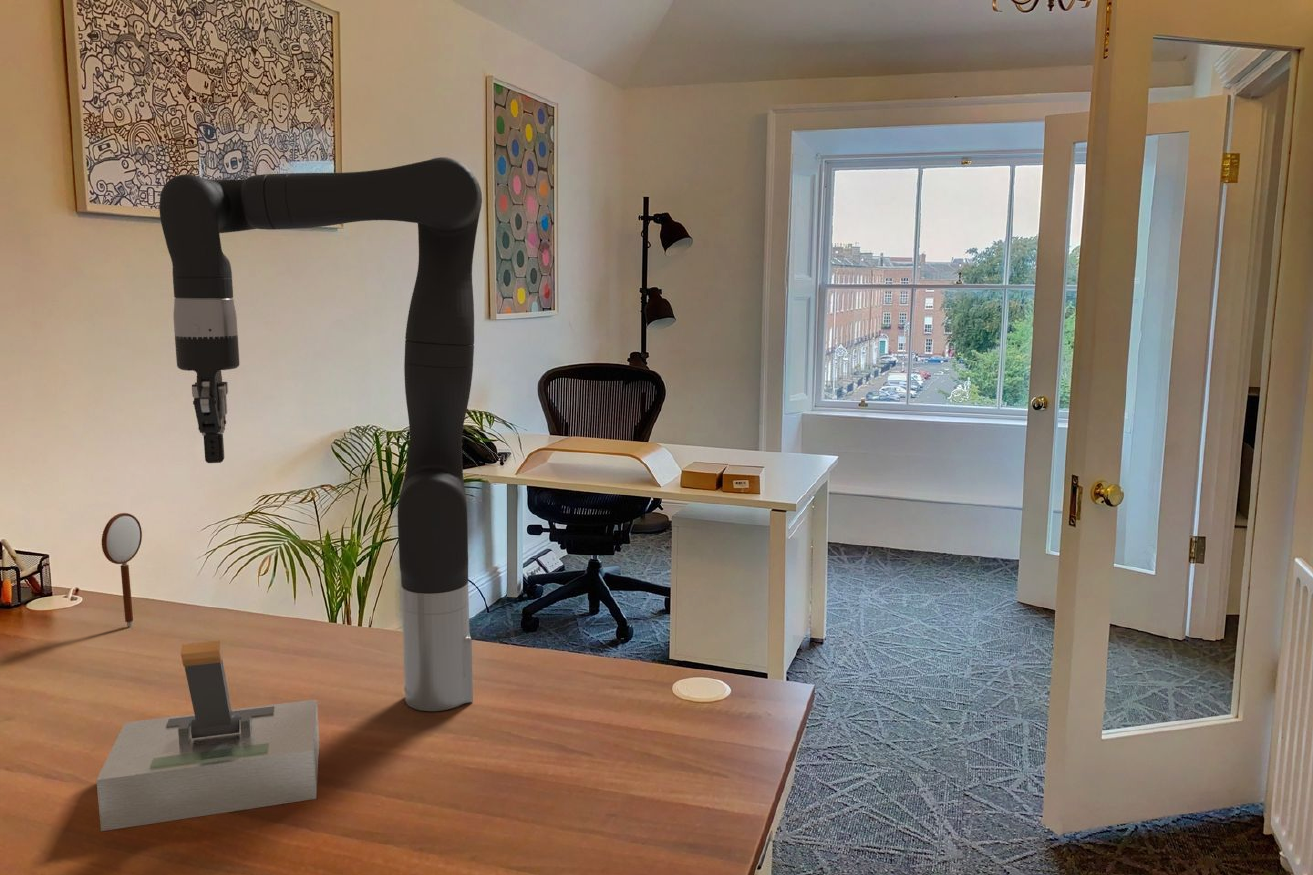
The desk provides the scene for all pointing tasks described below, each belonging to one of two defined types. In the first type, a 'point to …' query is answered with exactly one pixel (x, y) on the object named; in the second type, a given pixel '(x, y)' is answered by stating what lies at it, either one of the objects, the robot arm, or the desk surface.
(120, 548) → the magnifying glass
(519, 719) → the desk surface
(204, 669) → the breaker lever
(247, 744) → the breaker box
